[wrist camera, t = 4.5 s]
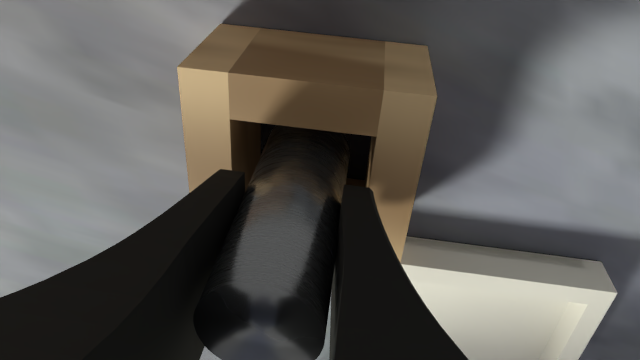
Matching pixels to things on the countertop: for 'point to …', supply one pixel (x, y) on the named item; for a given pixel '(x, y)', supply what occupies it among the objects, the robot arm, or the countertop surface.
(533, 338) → the tray
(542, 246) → the countertop surface
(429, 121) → the wooden square frame
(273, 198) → the cylinder
